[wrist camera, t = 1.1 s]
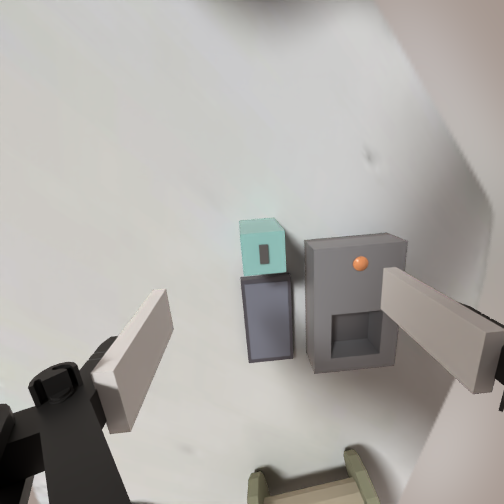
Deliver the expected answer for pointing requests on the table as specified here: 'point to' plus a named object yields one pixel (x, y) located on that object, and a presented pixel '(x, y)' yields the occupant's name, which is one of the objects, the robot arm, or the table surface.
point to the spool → (320, 488)
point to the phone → (268, 317)
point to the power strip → (350, 301)
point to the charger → (262, 246)
